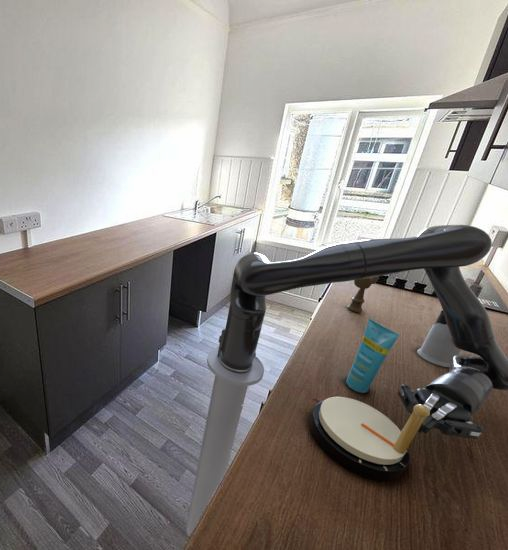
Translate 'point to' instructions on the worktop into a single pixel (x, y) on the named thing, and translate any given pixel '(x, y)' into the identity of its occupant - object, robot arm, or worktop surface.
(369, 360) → the tube
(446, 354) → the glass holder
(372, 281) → the kendama
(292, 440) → the worktop surface
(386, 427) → the wheel
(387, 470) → the dial base
